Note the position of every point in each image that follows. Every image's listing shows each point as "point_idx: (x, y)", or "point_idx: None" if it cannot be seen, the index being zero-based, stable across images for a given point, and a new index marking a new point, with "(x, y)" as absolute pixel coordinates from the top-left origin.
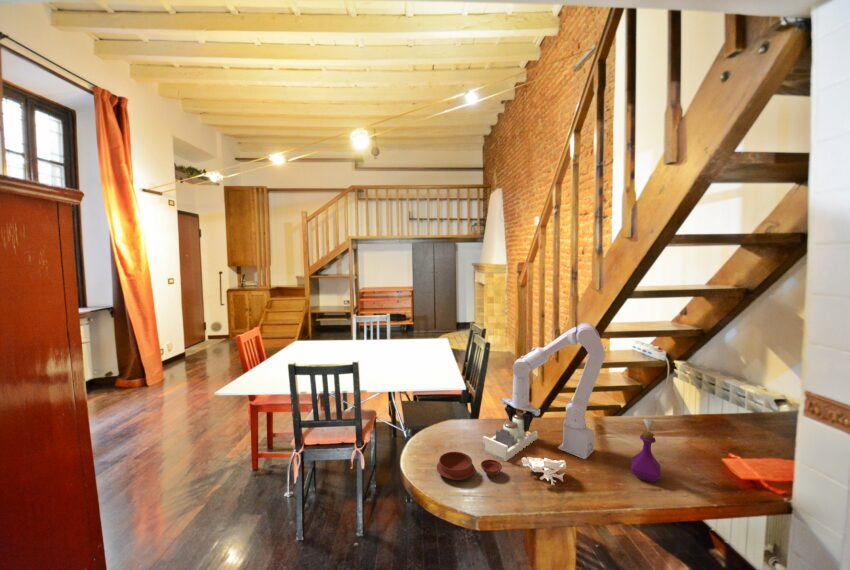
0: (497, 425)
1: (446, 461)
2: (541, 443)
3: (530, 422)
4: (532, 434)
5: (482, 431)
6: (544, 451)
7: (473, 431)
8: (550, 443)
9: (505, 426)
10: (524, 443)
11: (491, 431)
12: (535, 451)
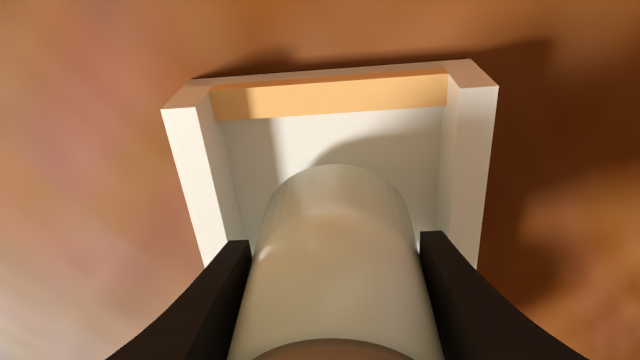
0: (14, 135)
1: None
2: (545, 108)
3: (493, 302)
4: (480, 195)
5: (65, 301)
6: (616, 207)
7: (37, 339)
8: (634, 32)
9: None
10: None
11: (97, 257)
12: (546, 255)
